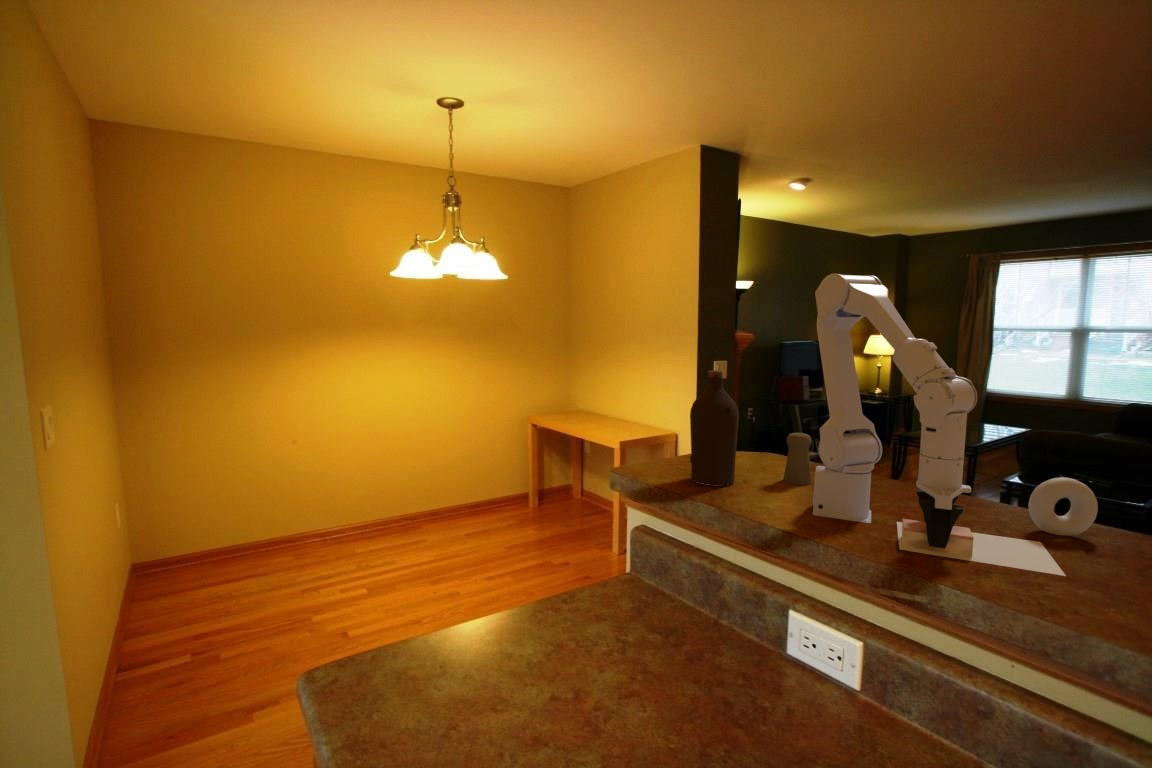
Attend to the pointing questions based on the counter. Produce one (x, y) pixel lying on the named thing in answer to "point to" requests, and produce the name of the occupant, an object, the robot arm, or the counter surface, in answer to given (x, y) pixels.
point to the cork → (798, 459)
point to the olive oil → (714, 434)
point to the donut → (1078, 514)
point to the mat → (1001, 553)
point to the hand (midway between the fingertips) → (935, 541)
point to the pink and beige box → (917, 538)
